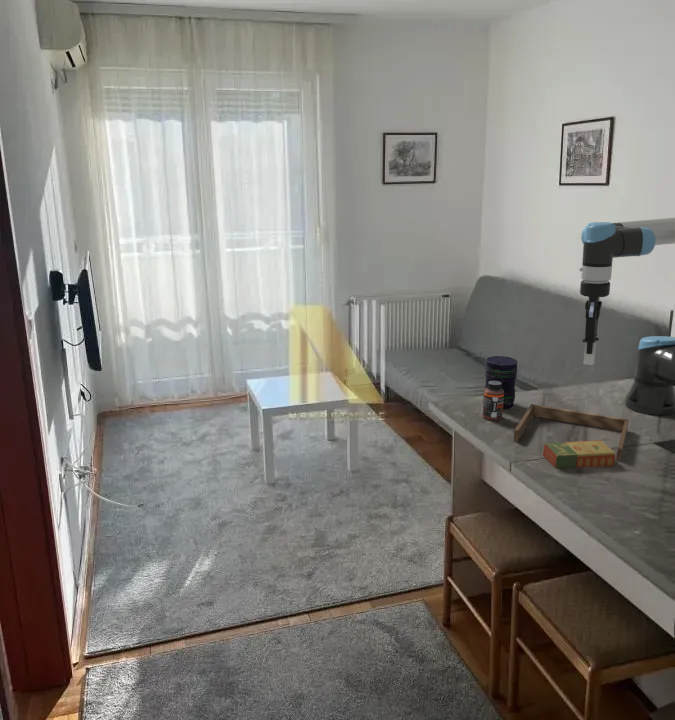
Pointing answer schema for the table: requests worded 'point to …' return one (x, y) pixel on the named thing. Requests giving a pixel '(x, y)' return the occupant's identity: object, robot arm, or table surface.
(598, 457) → the carton
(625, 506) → the table surface
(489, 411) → the supplement bottle
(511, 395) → the storage jar
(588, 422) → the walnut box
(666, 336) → the robot arm
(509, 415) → the table surface
